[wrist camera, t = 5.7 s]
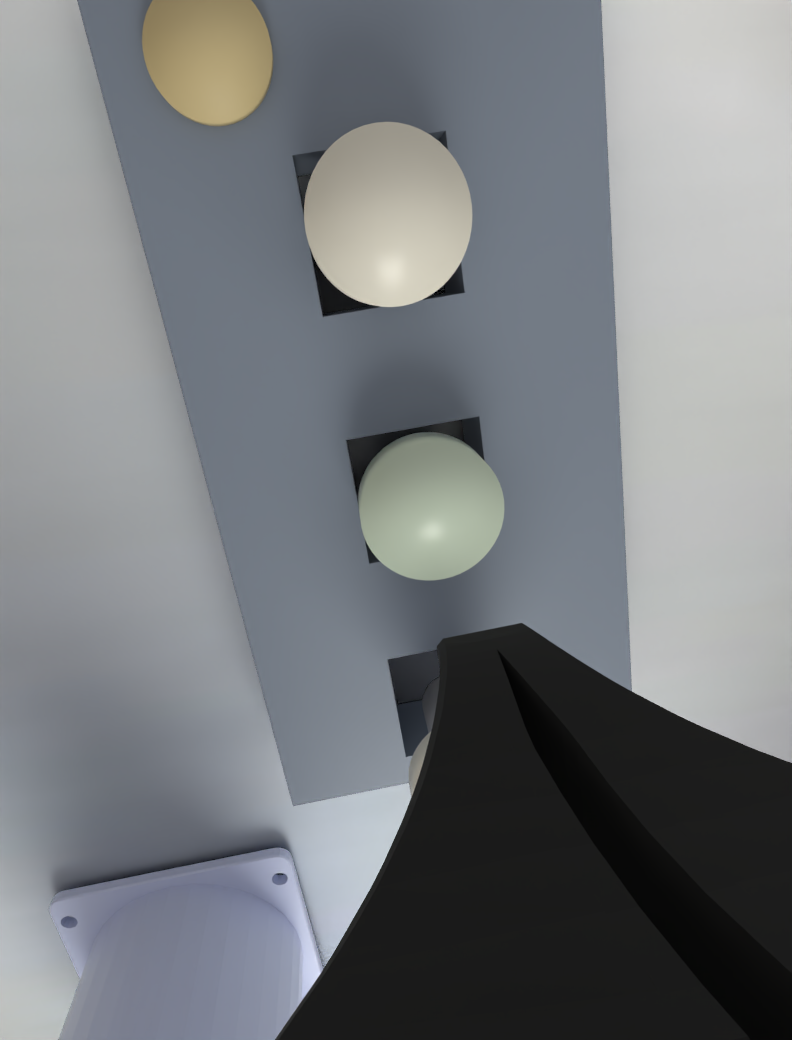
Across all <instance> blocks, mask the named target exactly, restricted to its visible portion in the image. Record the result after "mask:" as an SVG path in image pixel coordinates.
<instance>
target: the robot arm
mask: <svg viewBox="0 0 792 1040" xmlns="http://www.w3.org/2000/svg"><path fill="white" fill-rule="evenodd" d="M437 652H438V659H439V665H440V680H439V691H438V697H437V704H436V710H435V716H434V722H433V726H432V730H431V734H430V738H429V742H428V746H427V750H426V753H425V757H424V761H423V765H422V768H421V771H420V774H419V777H418V780H417V783H416V786H415V789H414V792H413V795H412V798H411V800H410V803H409V805H408V808H407V811H406V813H405V816H404V818H403V821H402V823H401V825H400V828H399V830H398V832H397V834H396V837H395V839H394V841H393V843H392V846H391V848H390V850H389V852H388V854H387V857H386V859H385V861H384V863H383V865H382V867H381V869H380V871H379V873H378V875H377V877H376V879H375V881H374V883H373V885H372V887H371V889H370V891H369V892H368V894H367V896H366V898H365V899H364V901H363V903H362V905H361V906H360V908H359V910H358V912H357V913H356V915H355V917H354V918H353V920H352V922H351V924H350V925H349V927H348V929H347V931H346V932H345V934H344V936H343V938H342V939H341V941H340V943H339V945H338V946H337V948H336V950H335V952H334V953H333V955H332V956H331V958H330V960H329V961H328V963H327V964H326V966H325V967H324V969H323V966H322V963H321V959H320V955H319V952H318V948H317V945H316V941H315V937H314V934H313V930H312V927H311V923H310V919H309V916H308V912H307V909H306V905H305V901H304V898H303V894H302V891H301V887H300V883H299V880H298V876H297V873H296V869H295V865H294V862H293V858H292V855H291V854H290V852H289V851H287V850H286V849H283V848H271V849H266V850H261V851H256V852H251V853H246V854H241V855H236V856H231V857H227V858H222V859H217V860H212V861H207V862H202V863H197V864H192V865H187V866H182V867H177V868H172V869H168V870H163V871H158V872H153V873H148V874H143V875H138V876H133V877H128V878H123V879H118V880H113V881H108V882H104V883H99V884H94V885H89V886H84V887H79V888H74V889H69V890H64V891H61V892H58V893H57V894H56V895H55V896H54V897H53V899H52V902H51V904H50V906H49V913H50V915H51V917H52V920H53V922H54V924H55V926H56V928H57V931H58V933H59V935H60V937H61V939H62V942H63V944H64V946H65V948H66V950H67V952H68V955H69V957H70V959H71V961H72V963H73V966H74V968H75V970H76V972H77V974H78V976H79V979H80V981H79V984H78V987H77V990H76V992H75V995H74V998H73V1001H72V1003H71V1006H70V1009H69V1012H68V1014H67V1017H66V1020H65V1023H64V1025H63V1028H62V1031H61V1034H60V1037H59V1039H58V1040H792V763H790V762H787V761H784V760H781V759H779V758H776V757H774V756H771V755H768V754H766V753H763V752H760V751H758V750H755V749H753V748H750V747H748V746H745V745H743V744H741V743H738V742H736V741H734V740H731V739H729V738H727V737H724V736H722V735H720V734H717V733H715V732H713V731H710V730H708V729H706V728H703V727H701V726H699V725H697V724H695V723H692V722H690V721H688V720H686V719H684V718H682V717H680V716H678V715H676V714H674V713H672V712H670V711H668V710H666V709H664V708H662V707H660V706H658V705H656V704H654V703H652V702H651V701H649V700H647V699H645V698H643V697H641V696H639V695H637V694H635V693H634V692H632V691H630V690H628V689H626V688H625V687H623V686H621V685H619V684H618V683H616V682H614V681H612V680H611V679H609V678H607V677H606V676H604V675H602V674H601V673H599V672H597V671H596V670H594V669H592V668H591V667H589V666H588V665H586V664H584V663H583V662H581V661H580V660H578V659H576V658H575V657H573V656H572V655H570V654H569V653H567V652H566V651H564V650H563V649H561V648H559V647H558V646H556V645H555V644H553V643H552V642H550V641H549V640H547V639H546V638H544V637H543V636H541V635H540V634H538V633H537V632H535V631H534V630H532V629H531V628H529V627H528V626H526V625H525V624H523V623H519V624H513V625H508V626H503V627H498V628H493V629H488V630H483V631H478V632H473V633H468V634H463V635H458V636H453V637H448V638H443V639H442V640H441V642H440V643H439V644H438V645H437ZM277 873H283V874H284V875H277ZM69 916H72V917H69Z"/></svg>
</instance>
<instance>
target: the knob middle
mask: <svg viewBox="0 0 792 1040" xmlns="http://www.w3.org/2000/svg"><path fill="white" fill-rule="evenodd" d="M358 506H359V514H360V521H361V527H362V531H363V535H364V538H365V540H366V542H367V544H368V546H369V548H370V550H371V551H372V553H373V554H374V555H375V556H376V558H377V559H378V560H379V561H380V562H381V563H382V564H384V565H385V566H386V567H388V568H389V569H390V570H392V571H394V572H396V573H398V574H400V575H402V576H405V577H408V578H412V579H417V580H441V579H446V578H450V577H453V576H456V575H458V574H461V573H463V572H465V571H466V570H468V569H470V568H471V567H473V566H474V565H476V564H477V563H478V562H479V561H480V560H481V559H483V558H484V556H485V555H486V554H487V553H488V552H489V551H490V549H491V548H492V546H493V545H494V543H495V541H496V540H497V538H498V536H499V533H500V530H501V528H502V524H503V519H504V497H503V492H502V489H501V486H500V483H499V481H498V479H497V477H496V475H495V473H494V472H493V470H492V469H491V468H490V466H489V465H488V464H487V463H486V462H485V461H484V460H483V459H482V458H481V457H480V456H479V455H478V454H477V453H476V451H475V450H474V449H472V448H471V447H470V446H469V445H468V444H466V443H464V442H463V441H461V440H460V439H457V438H455V437H453V436H450V435H446V434H443V433H436V432H421V433H414V434H410V435H406V436H404V437H401V438H399V439H397V440H395V441H393V442H391V443H390V444H388V445H387V446H386V447H384V448H383V449H382V450H381V451H380V452H379V453H378V454H376V456H375V457H374V458H373V459H372V461H371V462H370V463H369V465H368V467H367V468H366V470H365V472H364V474H363V477H362V480H361V483H360V487H359V493H358Z"/></svg>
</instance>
